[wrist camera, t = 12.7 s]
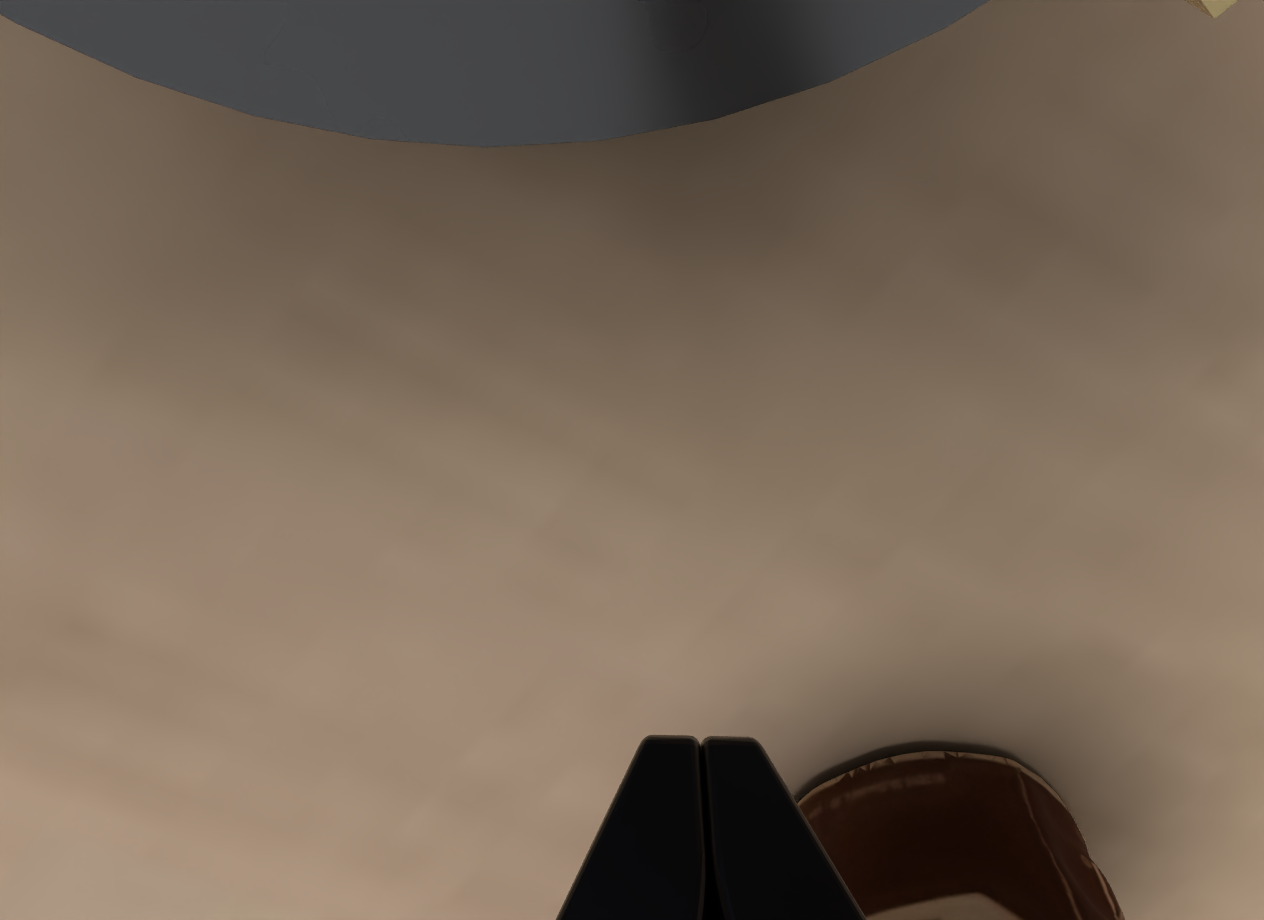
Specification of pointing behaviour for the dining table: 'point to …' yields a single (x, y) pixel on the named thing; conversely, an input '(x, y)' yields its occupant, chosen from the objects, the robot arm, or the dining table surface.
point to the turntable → (491, 58)
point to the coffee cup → (956, 841)
